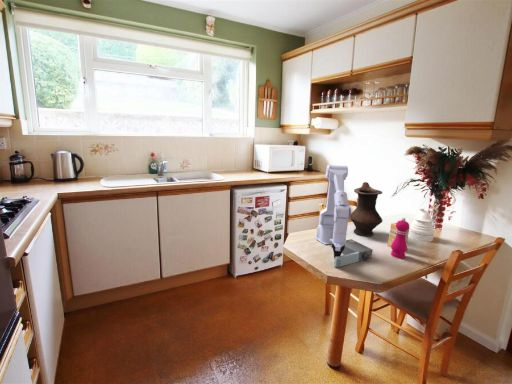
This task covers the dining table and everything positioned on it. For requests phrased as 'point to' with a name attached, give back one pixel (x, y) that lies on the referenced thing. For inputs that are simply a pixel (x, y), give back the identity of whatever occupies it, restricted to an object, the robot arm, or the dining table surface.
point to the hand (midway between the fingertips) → (336, 259)
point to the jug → (366, 210)
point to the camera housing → (357, 250)
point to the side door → (346, 259)
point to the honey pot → (422, 227)
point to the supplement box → (394, 234)
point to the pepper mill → (400, 239)
